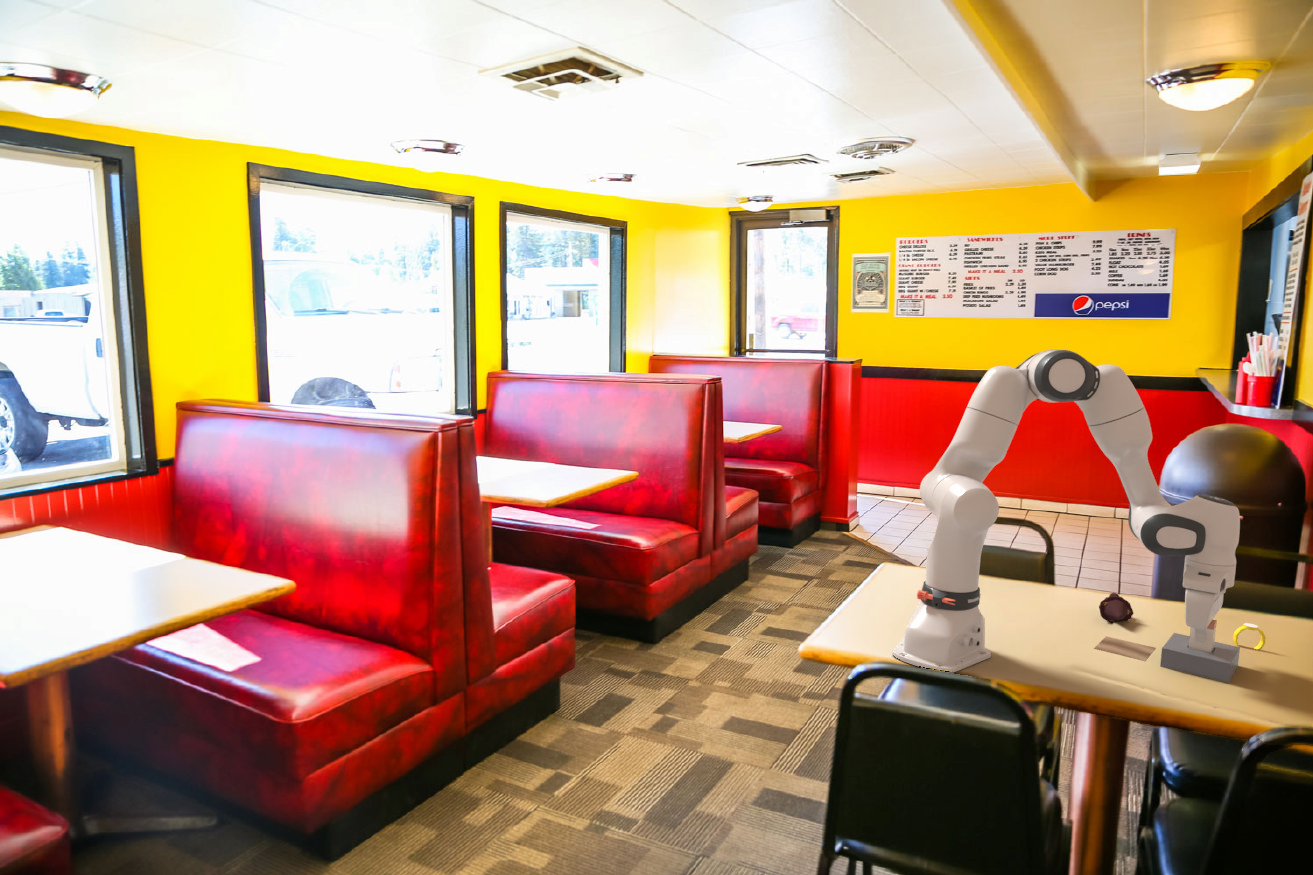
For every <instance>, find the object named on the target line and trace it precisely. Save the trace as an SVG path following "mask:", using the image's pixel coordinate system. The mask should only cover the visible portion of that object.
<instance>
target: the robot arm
mask: <svg viewBox="0 0 1313 875" xmlns="http://www.w3.org/2000/svg"><path fill="white" fill-rule="evenodd" d="M1034 401H1042V402H1046V403H1072V402H1074V403H1075V404H1076V405H1077V406H1078V407H1079V409H1080V411H1081V412H1082V413H1083V417H1084V419H1085V421H1086V424H1087V426H1088V429H1089V431H1090V433H1091V435H1092V437H1093V438H1094V441H1095V442H1096V444H1097V445H1098V447H1099V449H1100V450H1101V451H1102V452H1103V454H1104V456H1105V457H1106V458H1107V459H1109V461H1110V462H1111V463H1112V464H1113V466H1114V467H1115V470H1116V472H1117V475H1118V477H1119V480H1120V482H1121V485H1122V487H1123V489H1124V492H1125V494H1126V498H1127V500H1128V503H1129V504H1128V519H1127V520H1128V527H1129V530H1130V532H1131V533H1132V535H1133V536H1134V537H1135V538H1137V540H1139V542H1140V543H1141V544H1142V545H1143V546H1144V548H1146V549H1147V550H1148V551H1150V552H1151V553H1153V554H1154V555H1158V556H1161V557H1162V556H1163V557H1182V556H1184V565H1183V566H1184V567H1183V574H1182V587H1183V588H1185V594H1184V620H1185V621H1184V622H1185V625H1186V626H1187V627H1190V628H1191V627H1193V628H1195V640H1196V641H1198V642H1204V641H1205V640H1206V630H1207V627H1208V626H1209V624H1210V623H1211V621H1212V620H1214V619H1215V617H1216V616H1217V614H1218V612H1219V611H1220V609H1222V606H1223V603H1224V594H1225V593H1226V591H1227V589H1229V588H1232V587H1234V585H1235V577H1236V570H1237V569H1236V568H1237V558H1236V549H1237V547H1238V546H1239V542H1240V530H1241V517H1240V516H1241V515H1240V510H1239V508H1238V507H1237V506H1236V504H1234V503H1233V502H1232V501H1229V500H1228V499H1227V498H1226V499H1225V498H1222V497H1219V496H1216V495H1215V496H1214V495H1211V494H1197V495H1195V496H1194V497H1192V498H1191V499H1189V500H1186V501H1184V502H1183V501H1182V502H1181V503H1177V504H1174V505H1173V504H1172V503H1171V502H1170V501H1169V500H1167V499H1166V498H1165V497H1164V495H1163V494H1162V493H1161V491H1160V488H1159V486H1158V484H1157V480H1156V479H1155V476H1154V474H1153V471H1152V470H1153V469H1151V466H1150V462H1149V460H1148V459H1149V457H1148V451H1149V448H1150V445H1151V444H1152V441H1153V432H1152V427H1151V422H1150V418H1149V415H1148V412H1147V410H1146V407H1145V405H1144V404H1143V401H1142V399H1141V397H1140V395H1139V393H1138V391H1137V390H1136V388H1135V386H1134V384H1133V382H1132V381H1131V379H1130V378H1129V376H1128V375H1127V374H1126V372H1125V371H1124V370H1123V368H1121V367H1120V366H1118V365H1114V364H1100V365H1097V366H1096V365H1094V364H1092V363H1091V362H1090V361H1088V360H1087V359H1086V358H1084V357H1083V356H1082V355H1081V354H1078V353H1077V352H1074V351H1072V350H1068V349H1049V350H1044V351H1040V352H1037V353H1035V354H1032V355H1030V356H1029V357H1027V358H1026V359H1025V360H1024V361H1023V362H1021V363H1020V364H1018V365H1017V366H1016V367H1012V366H1009V365H998V366H994V367H990V368H989V369H988V370H987V371H986V372H985V373H984V375H983V376H982V378H981V380H980V381H979V383H978V384H977V386H976V387H975V389H974V392H973V393H972V395H971V397H970V399H969V401H968V404H967V406H966V408H965V410H964V413H963V416H962V418H961V420H960V423H959V425H958V427H957V429H956V432H955V434H954V436H953V438H952V440H951V442H950V444H949V446H948V447H947V448H946V450H945V451H944V453H943V455H942V456H941V457H940V458H939V460H938V462H937V463H936V465H935V466H934V467H933V469H932V470H931V471H930V472H928V473H927V474H926V475H925V476H924V477H923V478H922V480H921V482H920V486H919V495H920V499H921V500H922V503H923V505H924V506H925V508H926V509H927V510H928V511H929V512H930V513H931V514H933V515H934V516H936V518H937V524H936V529H935V532H934V535H933V538H932V541H931V543H930V544H929V545H928V547H927V552H926V563H925V564H926V566H925V567H926V568H925V580H924V581H923V584H922V587H921V589H918V590H917V592H916V599H917V600H920V601H919V603H918V604H917V607H916V608H915V610H914V612H913V614H912V616H911V617H910V619H909V621H908V623H907V625H906V627H905V632H904V635H903V637H902V638H901V639H900V641H899V642H898V643H897V644H896V646H894V648H893V650H892V652H891V656H893V655H894V656H895V657H896V659H897V658H898V660H899V659H900V661H902V662H904V663H908V664H911V665H913V666H916V667H919V666H921V667H920V668H923V667H925V668H924V669H926V668H936V669H941V670H948V671H953V672H952V673H956V672H958V671H961V670H964V669H965V668H969V667H971V666H973V665H975V664H978V663H981V662H982V661H986V660H988V659H990V658H991V657H992V656H991V655H992V654H991V653H992V652H991V651H990V650H988V648H986V632H985V631H986V625H985V624H986V620H985V617H984V615H983V614H982V612H981V610H980V609H979V605H980V600H981V588H980V586H979V580H980V567H981V556H982V551H983V549H984V548H983V547H984V544H985V542H986V541H985V540H986V538H987V534H988V532H989V528H991V527H992V526H993V525H994V523H995V522H996V521H997V518H998V516H999V511H1000V506H999V502H998V499H997V498H996V496H995V494H994V493H993V492H992V491H991V490H990V488H989V487H988V486H987V485H985V484H984V483H983V482H984V481H985V479H987V477H988V475H989V473H990V472H992V470H993V469H994V468H995V466H996V465H998V464H1000V463H1001V462H1003V460H1005V457H1006V455H1007V453H1008V452H1007V451H1008V450H1009V448H1010V445H1011V443H1012V440H1013V439H1014V436H1015V434H1016V431H1017V429H1018V426H1019V425H1020V421H1021V420H1022V417H1023V414H1024V412H1025V411H1026V409H1027V408H1028V407H1029V405H1030V404H1032V402H1034ZM894 656H893V657H894ZM895 657H894V658H895Z"/></svg>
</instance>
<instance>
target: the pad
mask: <svg viewBox="0 0 1313 875" xmlns="http://www.w3.org/2000/svg"><path fill="white" fill-rule="evenodd" d="M1155 649H1156V647H1154V646H1150V645H1145V644H1141V643H1136V642H1131V641H1128V640H1123V639H1121V638H1120V639H1119V638H1115V637H1111V636H1107V635H1106V636H1105V637H1104V638H1103V639H1101V641H1099V643H1097V644H1096V646H1095V647H1093V650H1098V651H1102V652H1106V653H1111V654H1115V655H1118V656H1122V657H1125V658H1130V659H1131V658H1132V659H1134V660H1139V661H1142V662H1143V661H1144V662H1146V661H1147V659H1148V658H1149V657H1150V656H1151V655H1152V654H1153V652H1154V651H1155Z"/></svg>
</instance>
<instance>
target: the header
mask: <svg viewBox="0 0 1313 875" xmlns="http://www.w3.org/2000/svg"><path fill="white" fill-rule="evenodd" d="M1189 638H1190V635H1187V634H1186V635H1185V634H1183V633H1182V634H1181V633H1177V632H1173V633H1172V634H1171V636H1170V637H1169V639H1167V641H1166V642H1165V644H1164V645H1163V646H1162V648H1161V654H1160V656H1161V657H1160V668H1165V669H1169V670H1173V671H1177V672H1181V673H1184V674H1189V675H1193V676H1198V677H1202V678H1206V679H1209V680H1214V681H1217V682H1221V683H1226V684H1229V683H1230V682H1231V680H1232V678H1233V676H1234V674H1235V672H1236V670H1237V668H1238V666H1239V661H1240V660H1239V658H1240V653H1241V652H1240V650H1241V646H1236V645H1231V644H1227V643H1223V642H1218V641H1214V650H1213V653H1210V652H1206V651H1202V650H1197V649H1193V648H1189Z"/></svg>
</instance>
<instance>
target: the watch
mask: <svg viewBox="0 0 1313 875" xmlns="http://www.w3.org/2000/svg"><path fill="white" fill-rule="evenodd" d="M1245 630H1249V631H1258V633H1259V635H1260V641H1259V643H1258V644H1257V645H1255V647H1253V649H1255V650H1262V649H1263V647H1264V646H1265V644H1266V634H1264V632H1263V630H1261V629H1260V628H1259V626H1258V625H1256V624H1254V623H1249V622H1245V623H1243V625H1241V626H1239V627H1238V628H1236V630H1234V633H1233V635H1232V642H1233V644H1234V646H1237V647H1240V645H1239V642H1238V638H1239V635H1240V634H1241V633H1242V632H1243V631H1245Z"/></svg>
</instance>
